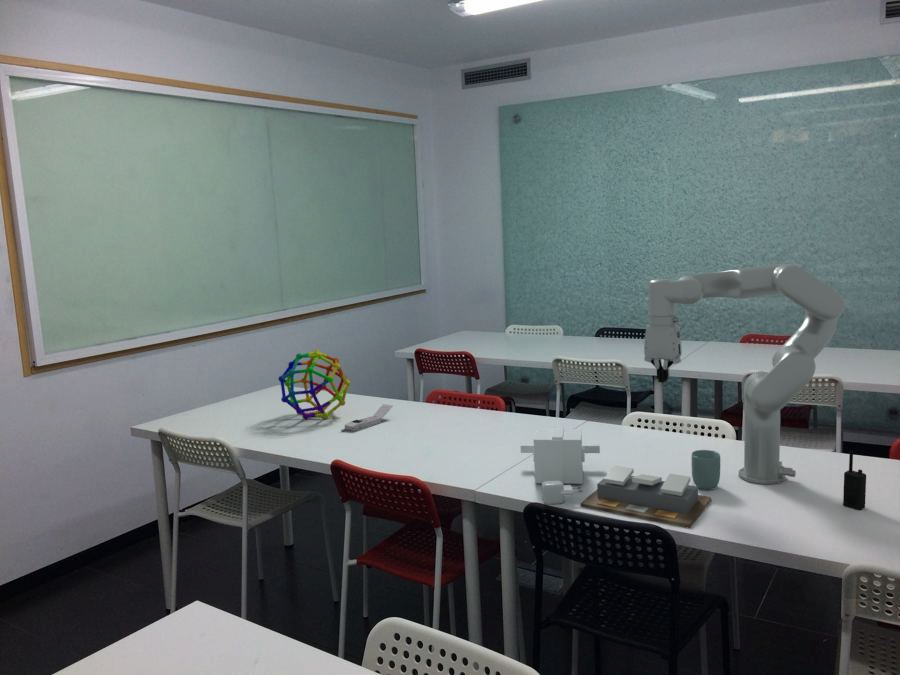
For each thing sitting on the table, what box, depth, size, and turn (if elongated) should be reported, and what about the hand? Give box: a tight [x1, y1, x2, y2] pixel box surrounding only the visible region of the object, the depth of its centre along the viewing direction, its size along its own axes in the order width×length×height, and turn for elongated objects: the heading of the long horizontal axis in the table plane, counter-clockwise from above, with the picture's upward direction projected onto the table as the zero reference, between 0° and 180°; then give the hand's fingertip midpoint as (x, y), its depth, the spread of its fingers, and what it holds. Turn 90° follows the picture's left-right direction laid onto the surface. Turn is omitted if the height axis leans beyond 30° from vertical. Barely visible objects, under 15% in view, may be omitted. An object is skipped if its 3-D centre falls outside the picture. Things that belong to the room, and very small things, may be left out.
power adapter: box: [541, 481, 584, 505], centre depth 201 cm, size 11×5×6 cm, turn 90°
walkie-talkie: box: [842, 450, 867, 511], centre depth 186 cm, size 5×3×15 cm
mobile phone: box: [340, 404, 394, 432], centre depth 291 cm, size 6×6×25 cm
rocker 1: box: [603, 465, 635, 486], centre depth 201 cm, size 6×8×1 cm
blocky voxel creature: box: [520, 426, 601, 485], centre depth 225 cm, size 15×25×28 cm
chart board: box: [579, 489, 713, 529], centre depth 197 cm, size 30×20×1 cm, turn 55°
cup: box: [691, 449, 721, 491], centre depth 205 cm, size 8×8×10 cm
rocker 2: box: [632, 473, 663, 485], centre depth 197 cm, size 6×8×1 cm
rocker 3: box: [661, 473, 691, 496], centre depth 192 cm, size 6×8×1 cm
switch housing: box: [596, 475, 699, 514], centre depth 197 cm, size 25×10×5 cm, turn 55°
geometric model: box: [278, 349, 351, 420], centre depth 304 cm, size 30×30×30 cm
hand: (662, 381), depth 213 cm, fingers closed
